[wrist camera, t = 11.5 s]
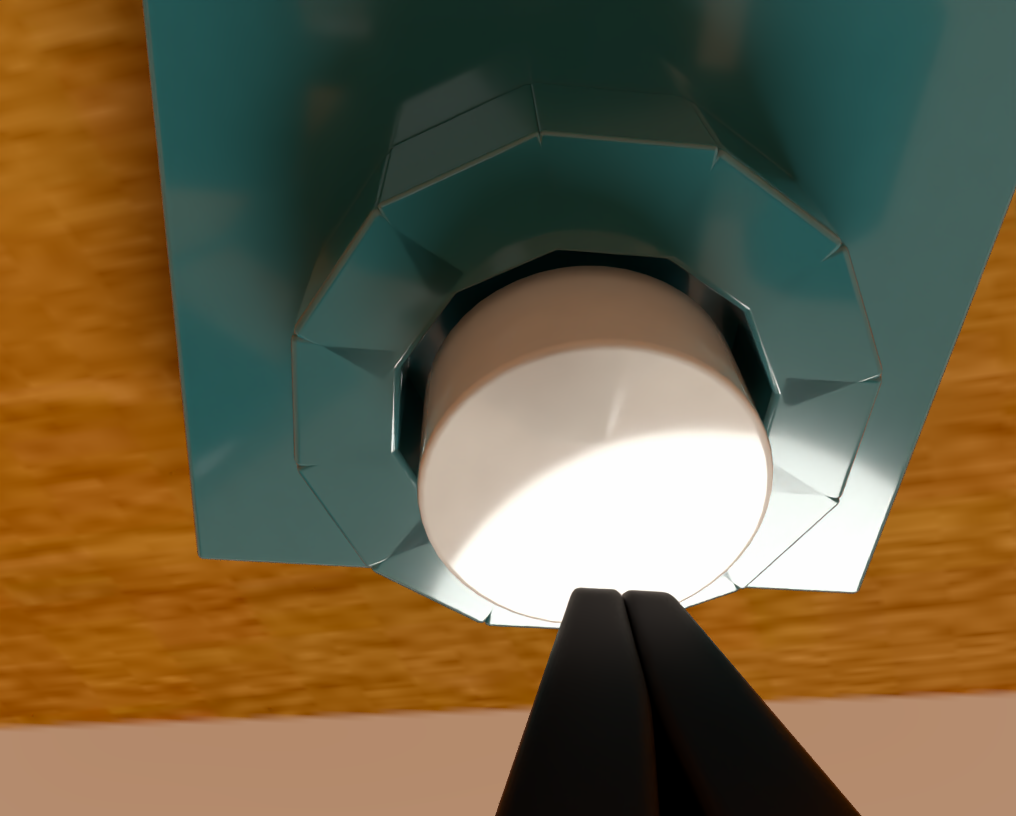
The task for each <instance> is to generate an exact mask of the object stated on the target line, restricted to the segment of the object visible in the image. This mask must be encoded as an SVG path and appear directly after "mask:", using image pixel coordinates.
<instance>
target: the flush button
mask: <svg viewBox="0 0 1016 816" xmlns="http://www.w3.org/2000/svg"><path fill="white" fill-rule="evenodd" d="M772 485H773V458H772V449H771V445H770V442H769V438H768V435H767V431H766V429H765V426H764V424H763V422H762V420H761V417H760V415H759V413H758V411H757V408H756V406H755V404H754V402H753V399H752V397H751V395H750V393H749V390H748V388H747V386H746V384H745V381H744V379H743V377H742V375H741V372H740V370H739V368H738V366H737V363H736V361H735V359H734V357H733V354H732V352H731V350H730V348H729V346H728V344H727V342H726V339H725V337H724V335H723V334H722V332H721V331H720V329H719V328H718V326H717V325H716V323H715V322H714V321H713V319H712V318H711V317H710V316H709V315H708V314H707V313H706V312H705V311H704V310H703V309H702V307H701V306H700V305H698V304H697V303H696V302H695V301H693V300H692V299H691V298H690V297H688V296H687V295H686V294H685V293H683V292H681V291H680V290H678V289H676V288H674V287H673V286H671V285H669V284H668V283H666V282H663V281H661V280H658V279H656V278H654V277H651V276H649V275H646V274H642V273H639V272H635V271H631V270H628V269H622V268H615V267H608V266H572V267H562V268H556V269H552V270H548V271H543V272H539V273H536V274H533V275H530V276H527V277H525V278H522V279H519V280H517V281H515V282H513V283H511V284H509V285H507V286H505V287H503V288H501V289H499V290H497V291H495V292H494V293H492V294H491V295H489V296H488V297H486V298H485V299H483V300H482V301H480V302H479V303H478V304H477V305H476V306H474V307H473V308H472V309H471V310H470V311H469V312H468V313H466V314H465V315H464V316H463V317H462V318H461V320H460V321H459V322H458V323H457V324H456V325H455V326H454V328H453V329H452V330H451V331H450V332H449V334H448V336H447V337H446V339H445V340H444V342H443V343H442V345H441V346H440V348H439V350H438V352H437V354H436V356H435V359H434V361H433V363H432V365H431V369H430V372H429V375H428V379H427V382H426V390H425V397H424V408H423V419H422V431H421V442H420V454H419V465H418V477H417V502H418V507H419V513H420V518H421V521H422V524H423V527H424V530H425V532H426V535H427V537H428V539H429V541H430V543H431V545H432V546H433V548H434V550H435V552H436V554H437V555H438V557H439V558H440V559H441V560H442V562H443V563H444V564H445V566H446V567H447V568H448V570H449V571H450V572H451V573H452V574H453V575H454V576H455V577H456V578H457V579H458V580H459V581H460V582H461V583H463V584H464V585H465V586H466V587H468V588H469V589H470V590H472V591H473V592H474V593H476V594H477V595H479V596H480V597H482V598H484V599H486V600H487V601H489V602H491V603H493V604H494V605H497V606H499V607H501V608H504V609H506V610H508V611H510V612H513V613H516V614H519V615H522V616H526V617H529V618H532V619H537V620H542V621H547V622H553V623H561V622H562V619H563V616H564V613H565V610H566V607H567V604H568V601H569V598H570V596H571V593H572V592H573V590H574V589H576V588H580V587H583V588H602V589H615V590H617V591H618V592H619V593H620V594H621V595H622V594H623V593H625V592H626V591H628V590H641V591H659V592H667V593H669V594H671V595H672V596H674V597H675V598H676V599H677V600H678V602H679V603H680V602H682V601H684V600H686V599H688V598H690V597H692V596H694V595H695V594H697V593H698V592H700V591H701V590H703V589H704V588H706V587H707V586H709V585H711V584H712V583H713V582H714V581H715V580H717V579H718V578H719V577H720V576H721V575H723V574H724V573H725V572H726V571H727V570H728V569H729V568H730V567H731V566H732V565H733V564H734V563H735V562H736V561H737V560H738V559H739V558H740V557H741V555H742V554H743V553H744V551H745V550H746V549H747V547H748V546H749V545H750V543H751V542H752V540H753V538H754V537H755V535H756V533H757V531H758V529H759V528H760V526H761V523H762V521H763V518H764V516H765V513H766V510H767V508H768V504H769V499H770V495H771V490H772Z"/></svg>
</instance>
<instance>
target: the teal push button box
mask: <svg viewBox="0 0 1016 816" xmlns="http://www.w3.org/2000/svg"><path fill="white" fill-rule="evenodd" d="M142 8H143V18H144V28H145V38H146V48H147V58H148V67H149V77H150V87H151V97H152V107H153V117H154V127H155V137H156V147H157V157H158V167H159V177H160V187H161V197H162V207H163V217H164V227H165V237H166V246H167V256H168V266H169V276H170V286H171V296H172V306H173V316H174V326H175V336H176V346H177V356H178V366H179V376H180V386H181V396H182V406H183V416H184V425H185V435H186V445H187V455H188V465H189V475H190V485H191V495H192V505H193V515H194V525H195V535H196V545H197V553H198V556H199V557H200V558H202V559H215V560H234V561H252V562H271V563H290V564H309V565H328V566H346V567H365V568H372V570H373V571H374V572H376V573H378V574H380V575H382V576H384V577H386V578H388V579H390V580H392V581H394V582H396V583H398V584H400V585H402V586H404V587H406V588H408V589H410V590H413V591H415V592H417V593H419V594H421V595H423V596H425V597H427V598H429V599H431V600H433V601H435V602H437V603H439V604H441V605H443V606H445V607H447V608H449V609H451V610H453V611H456V612H458V613H460V614H462V615H464V616H466V617H468V618H470V619H472V620H474V621H476V622H479V623H483V622H485V623H486V624H487V625H489V626H505V627H526V628H546V629H559V628H560V625H561V623H553V622H547V621H542V620H537V619H532V618H529V617H526V616H522V615H519V614H516V613H513V612H510V611H508V610H506V609H504V608H501V607H499V606H497V605H494V604H493V603H491V602H489V601H487V600H486V599H484V598H482V597H480V596H479V595H477V594H476V593H474V592H473V591H472V590H470V589H469V588H468V587H466V586H465V585H464V584H463V583H461V582H460V581H459V580H458V579H457V578H456V577H455V576H454V575H453V574H452V573H451V572H450V571H449V570H448V568H447V567H446V566H445V564H444V563H443V562H442V560H441V559H440V558H439V557H438V555H437V554H436V552H435V550H434V548H433V546H432V545H431V543H430V541H429V539H428V537H427V535H426V532H425V530H424V527H423V524H422V521H421V518H420V513H419V507H418V502H417V477H418V465H419V454H420V442H421V431H422V419H423V408H424V397H425V390H426V382H427V379H428V375H429V372H430V369H431V365H432V363H433V361H434V359H435V356H436V354H437V352H438V350H439V348H440V346H441V345H442V343H443V342H444V340H445V339H446V337H447V336H448V334H449V332H450V331H451V330H452V329H453V328H454V326H455V325H456V324H457V323H458V322H459V321H460V320H461V318H462V317H463V316H464V315H465V314H466V313H468V312H469V311H470V310H471V309H472V308H473V307H474V306H476V305H477V304H478V303H479V302H480V301H482V300H483V299H485V298H486V297H488V296H489V295H491V294H492V293H494V292H495V291H497V290H499V289H501V288H503V287H505V286H507V285H509V284H511V283H513V282H515V281H517V280H519V279H522V278H525V277H527V276H530V275H533V274H536V273H539V272H543V271H548V270H552V269H556V268H562V267H572V266H608V267H615V268H622V269H628V270H631V271H635V272H639V273H642V274H646V275H649V276H651V277H654V278H656V279H658V280H661V281H663V282H666V283H668V284H669V285H671V286H673V287H674V288H676V289H678V290H680V291H681V292H683V293H685V294H686V295H687V296H688V297H690V298H691V299H692V300H693V301H695V302H696V303H697V304H698V305H700V306H701V307H702V309H703V310H704V311H705V312H706V313H707V314H708V315H709V316H710V317H711V318H712V319H713V321H714V322H715V323H716V325H717V326H718V328H719V329H720V331H721V332H722V334H723V335H724V337H725V339H726V342H727V344H728V346H729V348H730V350H731V352H732V354H733V357H734V359H735V361H736V363H737V366H738V368H739V370H740V372H741V375H742V377H743V379H744V381H745V384H746V386H747V388H748V390H749V393H750V395H751V397H752V399H753V402H754V404H755V406H756V408H757V411H758V413H759V415H760V417H761V420H762V422H763V424H764V426H765V429H766V431H767V435H768V438H769V442H770V445H771V449H772V458H773V485H772V490H771V495H770V499H769V504H768V508H767V510H766V513H765V516H764V518H763V521H762V523H761V526H760V528H759V529H758V531H757V533H756V535H755V537H754V538H753V540H752V542H751V543H750V545H749V546H748V547H747V549H746V550H745V551H744V553H743V554H742V555H741V557H740V558H739V559H738V560H737V561H736V562H735V563H734V564H733V565H732V566H731V567H730V568H729V569H728V570H727V571H726V572H725V573H724V574H723V575H721V576H720V577H719V578H718V579H717V580H715V581H714V582H713V583H712V584H711V585H709V586H707V587H706V588H704V589H703V590H701V591H700V592H698V593H697V594H695V595H694V596H692V597H690V598H688V599H686V600H684V601H682V602H680V604H681V605H682V606H683V607H684V609H686V608H689V607H692V606H695V605H698V604H700V603H703V602H706V601H709V600H712V599H715V598H718V597H721V596H724V595H727V594H730V593H733V592H736V591H738V590H739V589H740V588H741V589H744V588H759V589H778V590H797V591H816V592H834V593H853V594H854V593H857V592H858V591H859V590H860V587H861V584H862V582H863V579H864V577H865V574H866V572H867V569H868V566H869V564H870V561H871V559H872V556H873V554H874V551H875V549H876V546H877V543H878V541H879V538H880V536H881V533H882V531H883V528H884V525H885V523H886V520H887V518H888V515H889V513H890V510H891V507H892V505H893V502H894V500H895V497H896V495H897V492H898V490H899V487H900V484H901V482H902V479H903V477H904V474H905V472H906V469H907V466H908V464H909V461H910V459H911V456H912V454H913V451H914V449H915V446H916V443H917V441H918V438H919V436H920V433H921V431H922V428H923V425H924V423H925V420H926V418H927V415H928V413H929V410H930V407H931V405H932V402H933V400H934V397H935V395H936V392H937V390H938V387H939V384H940V382H941V379H942V377H943V374H944V372H945V369H946V366H947V364H948V361H949V359H950V356H951V354H952V351H953V349H954V346H955V343H956V341H957V338H958V336H959V333H960V331H961V328H962V325H963V323H964V320H965V318H966V315H967V313H968V310H969V307H970V305H971V302H972V300H973V297H974V295H975V292H976V290H977V287H978V284H979V282H980V279H981V277H982V274H983V272H984V269H985V266H986V264H987V261H988V259H989V256H990V254H991V251H992V248H993V246H994V243H995V241H996V238H997V236H998V233H999V231H1000V228H1001V225H1002V223H1003V220H1004V218H1005V215H1006V213H1007V210H1008V207H1009V205H1010V202H1011V200H1012V197H1013V195H1014V192H1015V190H1016V0H142Z"/></svg>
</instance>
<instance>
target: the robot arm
mask: <svg viewBox="0 0 1016 816" xmlns="http://www.w3.org/2000/svg"><path fill="white" fill-rule="evenodd" d="M495 816H861V815H860V814H859V812H858V811H857V810H856V809H855V808H854V807H853V805H852V804H851V803H850V802H849V801H848V800H847V798H846V797H845V796H844V795H843V794H842V793H841V791H840V790H839V789H838V788H837V787H836V785H835V784H834V783H833V782H832V781H831V780H830V778H829V777H828V776H827V775H826V774H825V773H824V771H823V770H822V769H821V768H820V767H819V766H818V764H817V763H816V762H815V761H814V760H813V759H812V757H811V756H810V755H809V754H808V753H807V752H806V750H805V749H804V748H803V747H802V746H801V745H800V743H799V742H798V741H797V740H796V739H795V737H794V736H793V735H792V734H791V733H790V732H789V730H788V729H787V728H786V727H785V726H784V725H783V723H782V722H781V721H780V720H779V719H778V718H777V716H776V715H775V714H774V713H773V712H772V711H771V709H770V708H769V707H768V706H767V705H766V703H765V702H764V701H763V700H762V699H761V698H760V696H759V695H758V694H757V693H756V692H755V691H754V689H753V688H752V687H751V686H750V685H749V684H748V682H747V681H746V680H745V679H744V678H743V677H742V675H741V674H740V673H739V672H738V671H737V670H736V668H735V667H734V666H733V665H732V664H731V662H730V661H729V660H728V659H727V658H726V657H725V655H724V654H723V653H722V652H721V651H720V650H719V648H718V647H717V646H716V645H715V644H714V643H713V641H712V640H711V639H710V638H709V637H708V636H707V634H706V633H705V632H704V631H703V630H702V629H701V627H700V626H699V625H698V624H697V623H696V621H695V620H694V619H693V618H692V617H691V616H690V614H689V613H688V612H687V611H686V610H685V609H684V607H683V606H682V605H681V604H680V603H679V602H678V600H677V599H676V598H675V597H674V596H672V595H671V594H669V593H667V592H659V591H641V590H628V591H626V592H625V593H623V594H622V595H621V594H620V593H619V592H618V591H617V590H615V589H602V588H583V587H580V588H576V589H574V590H573V592H572V593H571V596H570V598H569V601H568V604H567V607H566V610H565V613H564V616H563V619H562V622H561V625H560V628H559V631H558V633H557V636H556V639H555V642H554V645H553V648H552V651H551V654H550V657H549V660H548V663H547V666H546V669H545V671H544V674H543V677H542V680H541V683H540V686H539V689H538V692H537V695H536V698H535V701H534V704H533V707H532V710H531V712H530V715H529V718H528V721H527V724H526V727H525V730H524V733H523V736H522V739H521V742H520V745H519V748H518V750H517V753H516V757H515V760H514V762H513V765H512V768H511V771H510V774H509V777H508V780H507V783H506V786H505V789H504V792H503V794H502V797H501V800H500V803H499V806H498V809H497V812H496V815H495Z"/></svg>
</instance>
